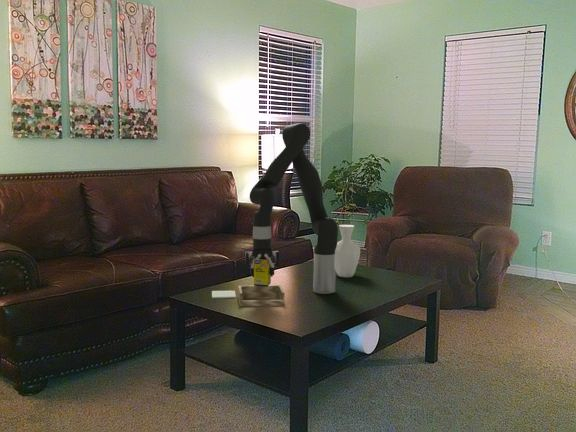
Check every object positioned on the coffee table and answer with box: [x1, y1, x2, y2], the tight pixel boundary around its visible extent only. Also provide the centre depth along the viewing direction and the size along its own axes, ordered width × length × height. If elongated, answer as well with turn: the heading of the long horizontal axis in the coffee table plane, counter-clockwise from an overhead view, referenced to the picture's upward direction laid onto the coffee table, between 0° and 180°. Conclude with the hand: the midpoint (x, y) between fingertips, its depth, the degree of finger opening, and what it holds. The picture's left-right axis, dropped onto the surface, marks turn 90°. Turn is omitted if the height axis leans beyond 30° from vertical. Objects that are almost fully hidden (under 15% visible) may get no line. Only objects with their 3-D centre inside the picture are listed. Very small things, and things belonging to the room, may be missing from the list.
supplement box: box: [253, 257, 272, 287], centre depth 233 cm, size 6×6×11 cm
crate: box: [237, 284, 286, 307], centre depth 234 cm, size 18×13×5 cm
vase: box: [335, 224, 361, 278], centre depth 282 cm, size 14×14×25 cm
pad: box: [211, 290, 237, 300], centre depth 243 cm, size 10×10×1 cm
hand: (262, 276), depth 233 cm, fingers closed on supplement box, 7 cm apart
